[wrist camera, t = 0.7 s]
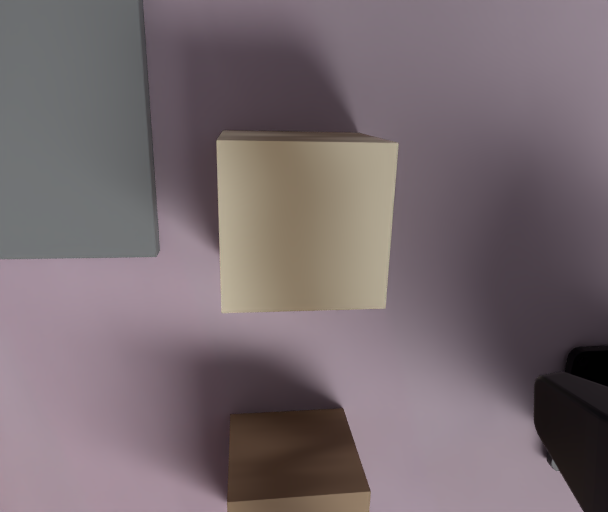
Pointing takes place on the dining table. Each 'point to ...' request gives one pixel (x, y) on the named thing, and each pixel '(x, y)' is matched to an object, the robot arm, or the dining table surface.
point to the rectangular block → (295, 463)
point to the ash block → (304, 220)
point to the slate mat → (75, 131)
